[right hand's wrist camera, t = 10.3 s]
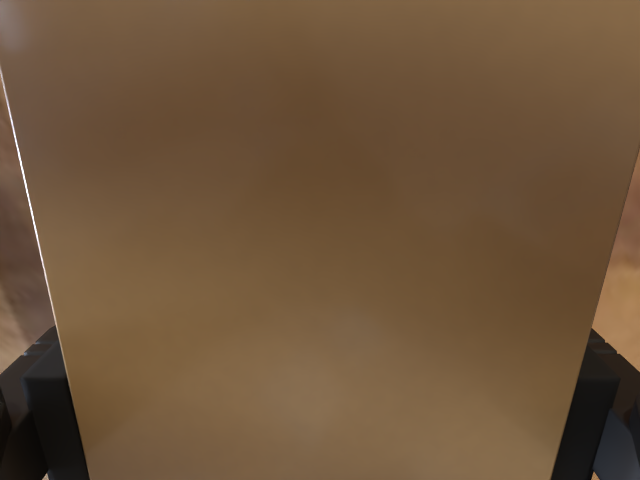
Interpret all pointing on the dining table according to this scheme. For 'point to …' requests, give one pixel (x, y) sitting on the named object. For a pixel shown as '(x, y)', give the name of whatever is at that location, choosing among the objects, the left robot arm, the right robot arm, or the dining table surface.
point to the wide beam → (323, 226)
